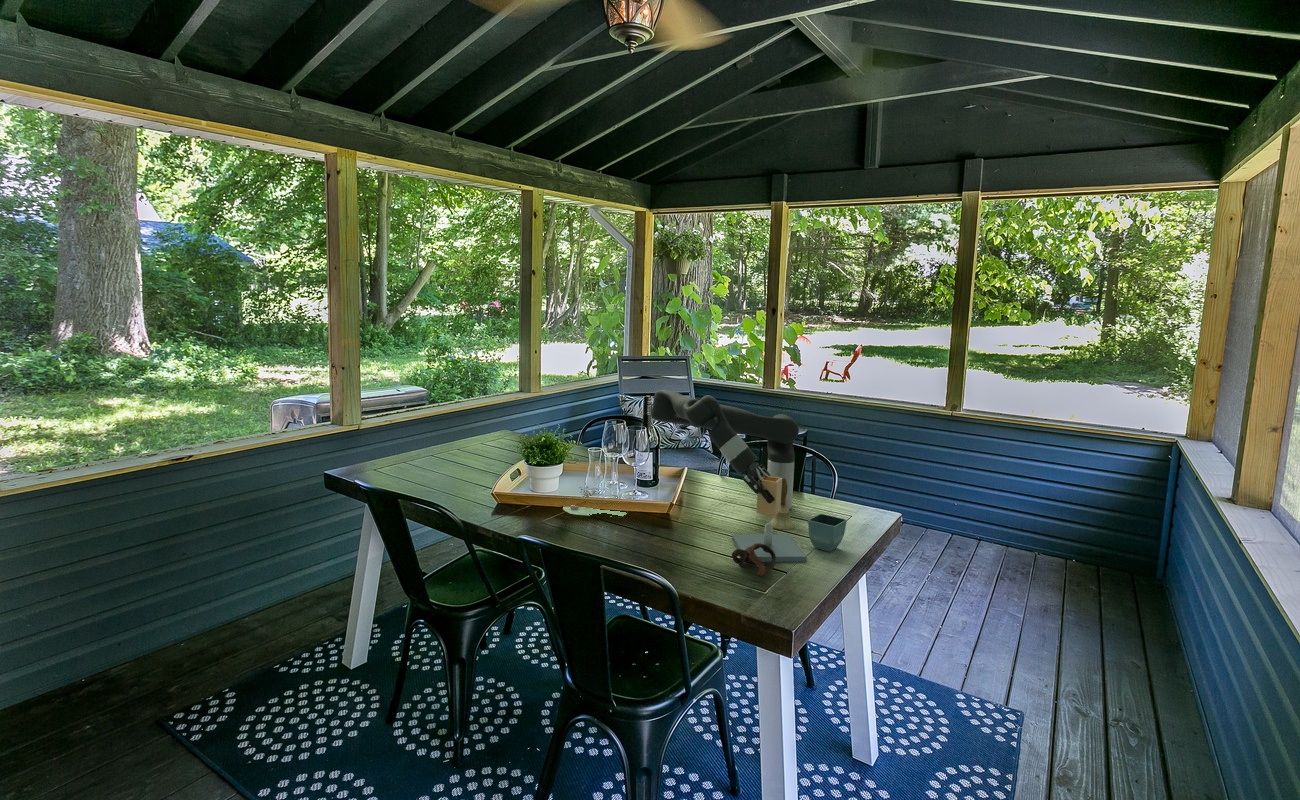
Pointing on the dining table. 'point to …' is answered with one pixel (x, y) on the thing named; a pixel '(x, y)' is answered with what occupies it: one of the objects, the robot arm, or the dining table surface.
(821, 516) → the flower pot
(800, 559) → the post board
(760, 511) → the collar
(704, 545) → the dining table surface
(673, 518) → the dining table surface
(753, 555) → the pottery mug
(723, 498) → the dining table surface
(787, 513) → the hand bell
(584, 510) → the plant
